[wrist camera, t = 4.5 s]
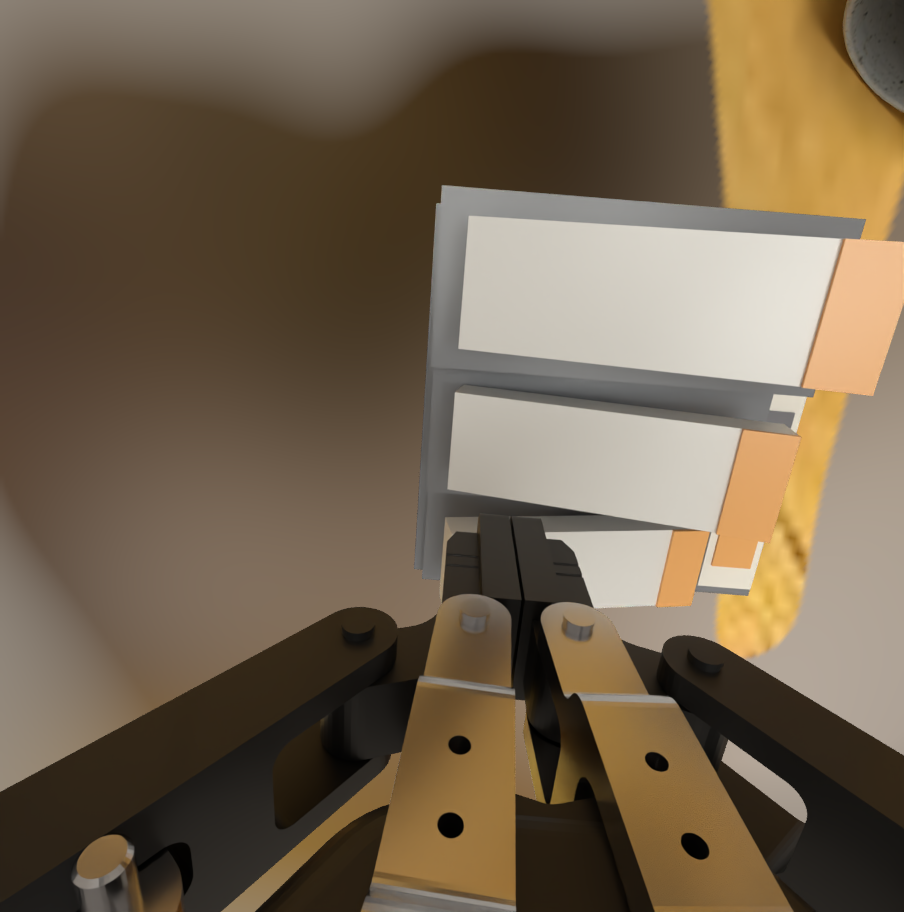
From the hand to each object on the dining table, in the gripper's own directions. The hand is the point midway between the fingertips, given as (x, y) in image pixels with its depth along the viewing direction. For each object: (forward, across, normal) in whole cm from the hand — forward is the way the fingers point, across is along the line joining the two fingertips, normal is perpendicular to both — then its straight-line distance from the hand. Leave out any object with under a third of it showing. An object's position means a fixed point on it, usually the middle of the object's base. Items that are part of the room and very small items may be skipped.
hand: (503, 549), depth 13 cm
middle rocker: (+8, -4, 0) cm, 9 cm away
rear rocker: (+11, -4, +6) cm, 13 cm away
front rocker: (+6, -4, -6) cm, 9 cm away
